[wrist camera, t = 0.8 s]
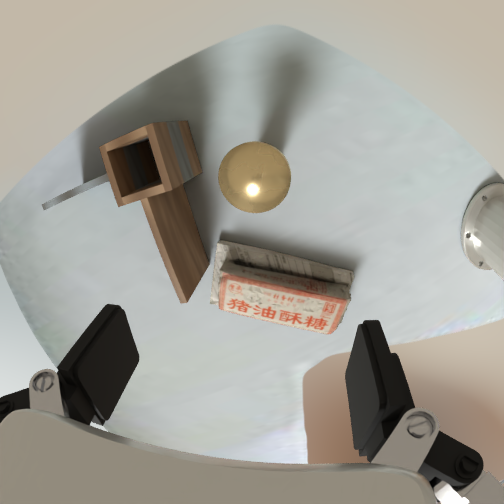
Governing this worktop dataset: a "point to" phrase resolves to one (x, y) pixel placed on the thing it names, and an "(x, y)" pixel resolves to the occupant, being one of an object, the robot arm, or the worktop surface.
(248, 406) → the worktop surface
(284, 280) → the packaged product
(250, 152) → the hinge pin
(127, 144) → the hinge
